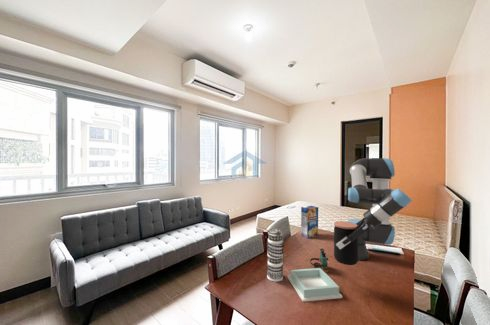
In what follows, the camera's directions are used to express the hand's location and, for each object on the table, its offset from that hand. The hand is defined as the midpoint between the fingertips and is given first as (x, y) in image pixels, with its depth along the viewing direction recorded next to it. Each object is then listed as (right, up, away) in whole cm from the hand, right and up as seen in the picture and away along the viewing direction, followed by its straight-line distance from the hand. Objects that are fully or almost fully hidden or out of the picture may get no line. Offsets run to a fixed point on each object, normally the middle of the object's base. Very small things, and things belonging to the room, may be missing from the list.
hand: (339, 242), depth 103 cm
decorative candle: (-31, -21, +7) cm, 38 cm away
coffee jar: (+3, -8, -2) cm, 9 cm away
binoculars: (-4, -21, +16) cm, 27 cm away
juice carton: (+7, -21, +69) cm, 73 cm away
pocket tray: (-14, -21, -2) cm, 25 cm away
